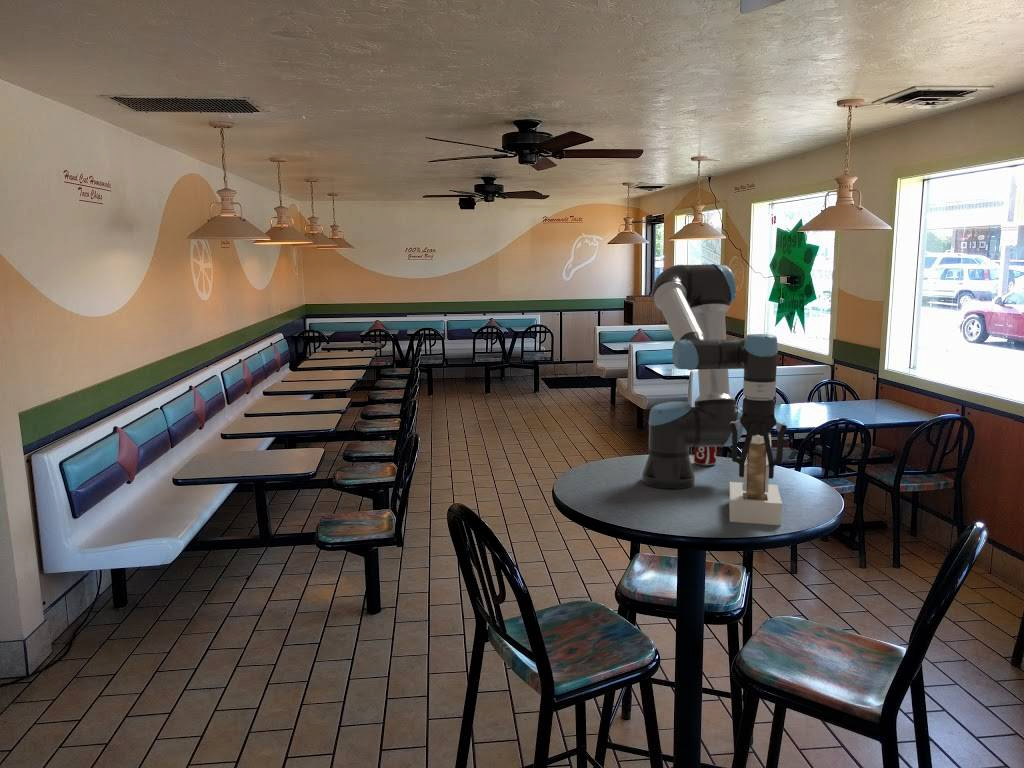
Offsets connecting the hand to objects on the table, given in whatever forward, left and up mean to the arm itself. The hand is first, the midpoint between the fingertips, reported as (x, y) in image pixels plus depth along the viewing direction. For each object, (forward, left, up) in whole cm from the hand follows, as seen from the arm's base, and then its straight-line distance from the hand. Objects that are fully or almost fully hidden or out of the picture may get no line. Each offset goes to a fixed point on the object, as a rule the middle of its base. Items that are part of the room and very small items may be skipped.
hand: (755, 490), depth 188 cm
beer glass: (+2, +32, -7) cm, 33 cm away
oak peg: (0, 0, -3) cm, 3 cm away
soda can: (-13, +52, -7) cm, 54 cm away
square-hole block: (0, +4, -7) cm, 8 cm away
